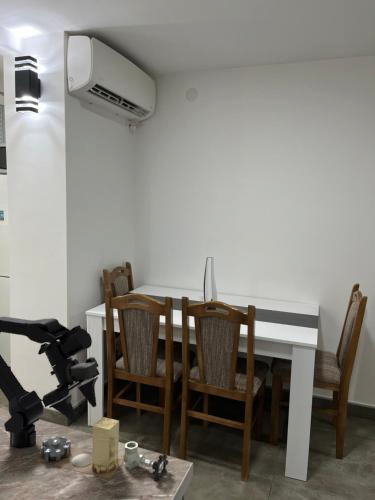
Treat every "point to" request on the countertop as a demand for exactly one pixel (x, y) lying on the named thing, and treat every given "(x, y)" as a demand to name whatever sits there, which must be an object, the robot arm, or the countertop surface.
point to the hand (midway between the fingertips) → (85, 414)
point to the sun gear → (55, 449)
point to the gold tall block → (105, 445)
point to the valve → (143, 460)
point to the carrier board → (80, 463)
